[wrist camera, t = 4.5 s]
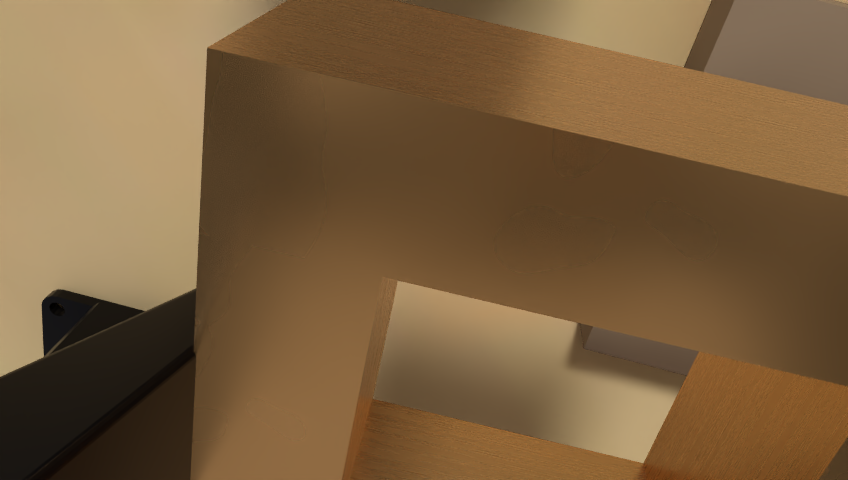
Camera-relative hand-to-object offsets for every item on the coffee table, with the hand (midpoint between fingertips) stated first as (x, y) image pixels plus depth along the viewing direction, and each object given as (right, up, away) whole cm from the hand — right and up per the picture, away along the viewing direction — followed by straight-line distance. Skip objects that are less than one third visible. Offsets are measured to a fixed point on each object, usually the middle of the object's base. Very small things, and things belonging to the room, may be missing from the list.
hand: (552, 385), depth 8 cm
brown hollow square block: (0, +1, +1) cm, 1 cm away
